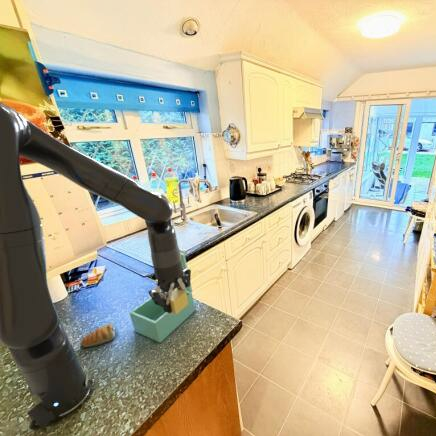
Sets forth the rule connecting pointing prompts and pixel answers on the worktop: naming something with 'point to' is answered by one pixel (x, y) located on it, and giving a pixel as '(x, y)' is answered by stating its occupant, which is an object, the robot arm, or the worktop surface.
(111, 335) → the pastry
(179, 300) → the block
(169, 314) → the cool box
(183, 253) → the lid
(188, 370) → the worktop surface
